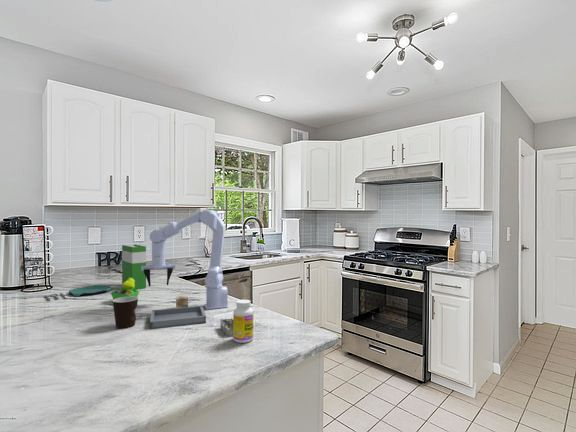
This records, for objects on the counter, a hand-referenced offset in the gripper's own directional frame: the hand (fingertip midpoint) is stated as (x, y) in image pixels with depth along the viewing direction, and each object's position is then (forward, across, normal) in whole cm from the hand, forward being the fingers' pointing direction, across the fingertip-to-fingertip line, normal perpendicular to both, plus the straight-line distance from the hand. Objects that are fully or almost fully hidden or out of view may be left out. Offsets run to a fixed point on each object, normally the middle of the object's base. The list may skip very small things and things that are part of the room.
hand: (158, 285), depth 150 cm
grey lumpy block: (+10, -26, +44) cm, 52 cm away
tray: (+9, -8, +24) cm, 27 cm away
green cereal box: (+10, +15, -48) cm, 51 cm away
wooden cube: (+10, -10, +8) cm, 16 cm away
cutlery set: (+10, +40, -40) cm, 58 cm away
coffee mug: (+10, +10, +24) cm, 28 cm away
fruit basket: (+10, +15, -13) cm, 22 cm away
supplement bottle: (+10, -28, +54) cm, 62 cm away
